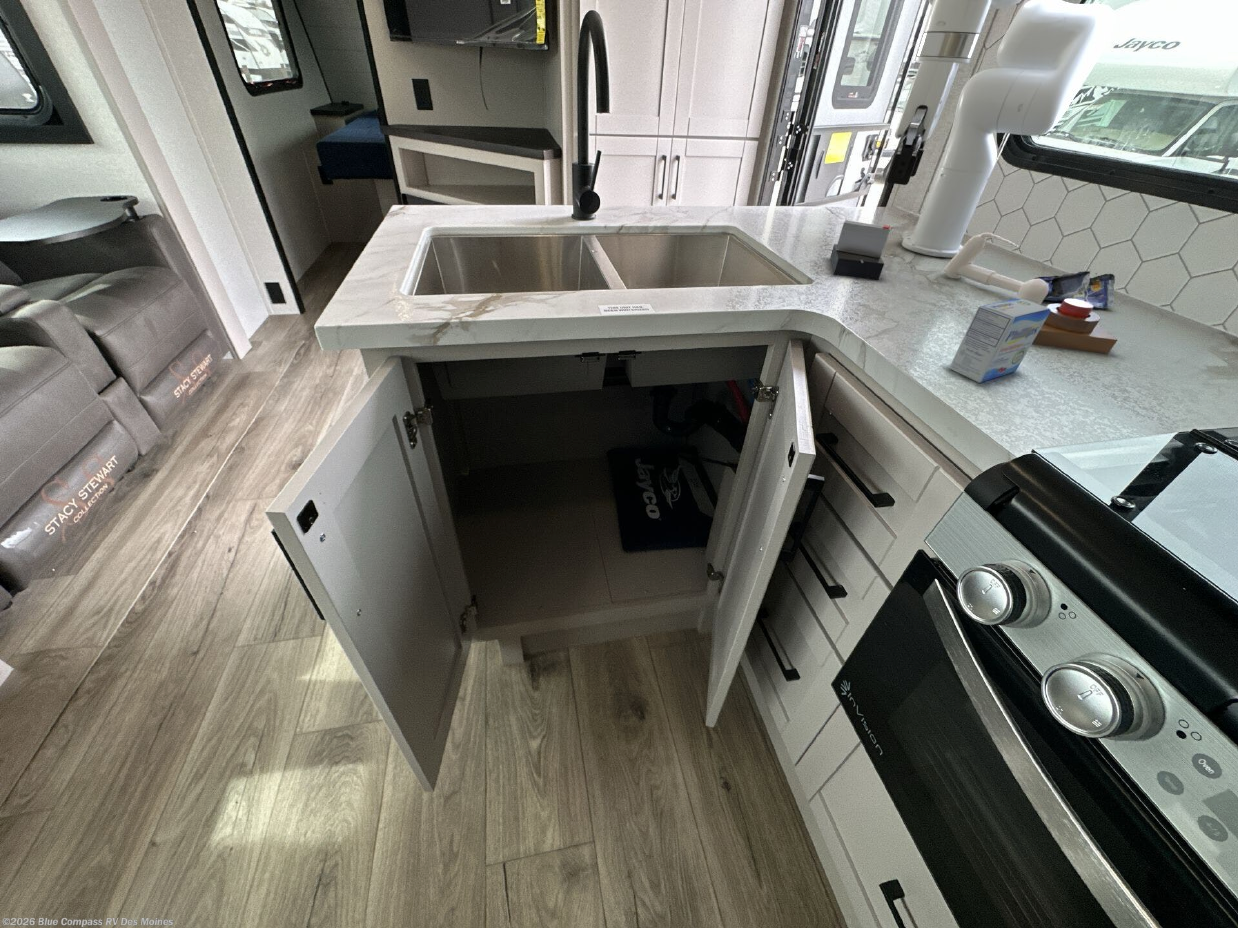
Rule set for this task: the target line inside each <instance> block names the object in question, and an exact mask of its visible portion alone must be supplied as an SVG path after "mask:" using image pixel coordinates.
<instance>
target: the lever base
mask: <svg viewBox="0 0 1238 928" xmlns="http://www.w3.org/2000/svg"><path fill="white" fill-rule="evenodd" d="M837 244H838V243H833V246H832V248H824V250H825V251H831V253H830V257H829V263H830V266H831V271H832V274H833V276H840V277H848V278H855V279H865V280H872V281H879V280H880V277H881V274H882V272H883V269H884V266H885V261H884V260H883V259H882V256H881V257H880V258H875V257H870V256H864V255H859V254H853V253H848V252H842V251H837V250H836V247H837ZM883 257H886V258H893V255H886V254H884V255H883Z"/></svg>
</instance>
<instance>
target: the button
mask: <svg viewBox="0 0 1238 928" xmlns="http://www.w3.org/2000/svg"><path fill="white" fill-rule="evenodd" d="M1060 304H1061V306H1060V307H1059V309H1058V311H1059V312H1061V313H1063V314H1066V315H1069V316H1073V317H1079V318H1087V317H1088V315H1089V314H1090V312H1093V311H1092V310H1093V309H1094V306H1093V305H1092V304H1090V303H1088V302H1085V301H1082V300H1078V299H1064V301H1062V302H1061V303H1060Z"/></svg>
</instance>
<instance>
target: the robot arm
mask: <svg viewBox="0 0 1238 928" xmlns="http://www.w3.org/2000/svg"><path fill="white" fill-rule="evenodd" d="M1021 1H1022V0H928V2H929V4H930V6H931V7H930V10H929V13H928V16H927V19H926V23H925V24H924V25H925V26H924V29H923V32H922V35H921V37H920V38H921V39H920V41H919V44H918V47H917V50H916V54H915V58H914V62H920V64H919V66H918V68H917V71H916V73H915V76H914V79H913V82H912V84H911V87H910V90H909V93H908V95H907V98H906V101H905V105H904V107H903V110H902V114H901V116H900V118H899V122H898V124H897V127H896V130H895V133H894V137H895V139H897V140H898V139H900V138H902V139H901V141H900V144H899V146H898V149H897V152H896V154H895V156H894V158H893V161H892V164H891V168H890V170H889V172H888V173H889V174H888V177H887V179H886V182H887V183H888V184H893V185H900V186H901V185H902V186H907V185H908V184H909V182H910V179H911V178H914V177H915V176H916V175H917V172H918V169H919V166H920V163H921V160H922V158H923V155H924V152H925V149H924V148H925V147H926V146H925V145H926V143H927V140H928V139H930V138H931V136H932V135H933V133H934V131H935V129H936V126H937V124H938V122H939V120H940V117H941V115H942V114H943V113H942V112H943V111H944V108H945V105H946V103H947V100H948V97H949V94H950V92H951V89H952V87H953V83H954V81H955V78H956V75H957V72H958V70H959V67H960V65H961V64H970V61H971V59H972V56H973V54H974V52H975V48H976V46H977V42H978V40H979V38H980V34H981V31H982V29H983V27H984V24H985V20H986V18H987V15H988V12H989V10H999V9H1000V10H1002V9H1007V8H1010V7H1013V6H1015V5H1017V4H1018V3H1020V2H1021ZM1081 2H1082V0H1024V1H1023V3H1022V4H1021V6H1020V8H1019V9H1018V11H1017V12H1016V14H1015V16H1014V18H1013V20H1012V22H1011V23H1010V25H1009V27H1008V28H1007V30H1006V32H1005V34H1004V35H1003V37H1002V40H1001V42H1000V43H999V46H998V49H997V52H996V58H995V59H996V63H997V65H998V67H992V68H987V69H983V70H981V71H978V72H977V73H975V74H973V75H972V76H971V77H969V79H968V80H967V81H966V83H965V84H964V85H963V87H962V90H961V92H960V94H959V97H958V101H957V105H956V109H955V113H954V118H953V122H952V127H951V130H950V133H949V136H948V140H947V143H946V146H945V148H944V151H943V155H942V157H941V160H940V162H939V165H938V168H937V170H936V173H935V175H934V178H933V181H932V183H931V186H930V188H929V191H928V193H927V197H926V200H925V202H924V205H923V207H922V210H921V212H920V215H919V218H918V220H917V223H916V226H915V228H914V231H913V233H912V236H906V237H904V238H903V239H902V241H901V245H902V247H903V248H904V249H906V250H909V251H911V252H914V253H917V254H921V255H926V256H931V257H937V258H951V259H952V258H953V257H954V256H955V255H956V254H957V253H958V252H959V251H960V250H961V249H962V247H963V246H964V245H962V244H961V243H962V240H963V238H964V237H965V233H966V231H967V229H968V226H969V225H970V223H971V220H972V218H973V216H974V213H975V211H976V209H977V207H978V204H979V202H980V200H981V197H982V195H983V192H984V190H985V188H986V186H987V184H988V181H989V179H990V177H991V175H992V172H993V170H994V169H995V166H996V163H997V157H998V150H997V146H996V141H995V137H994V134H995V133H996V134H1000V133H1002V134H1009V135H1019V136H1029V137H1030V136H1032V137H1033V136H1034V137H1036V136H1043V135H1045V134H1047V133H1048V132H1050V131H1051V130H1053V129H1054V127H1055V126H1056V125H1057V124H1058V123H1059V122H1060V120H1061V119H1062V118H1063V116H1064V114H1065V113H1066V111H1067V110H1068V108H1069V106H1070V105H1071V103H1072V101H1074V98H1075V97H1076V95H1077V93H1079V90H1080V89H1081V87H1082V85H1083V84H1084V82H1085V81H1086V79H1087V77H1089V74H1090V73H1091V71H1092V69H1093V68H1094V67H1095V65H1096V63H1097V61H1098V60H1099V58H1100V57H1101V55H1102V53H1103V51H1104V49H1105V47H1106V46H1107V43H1108V41H1109V40H1110V37H1111V34H1112V31H1113V29H1114V24H1115V12H1114V10H1113V9H1112V8H1111V7H1110V6H1109V5H1106V4H1100V3H1081Z"/></svg>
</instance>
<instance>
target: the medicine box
mask: <svg viewBox="0 0 1238 928" xmlns="http://www.w3.org/2000/svg"><path fill="white" fill-rule="evenodd" d="M1050 312H1051V310H1050V309H1049V308H1047V306H1044V305H1042V304H1041V305H1039V304H1037V303H1034V302H1031V301H1027V300H1024V299H1019V298H1013V299H1007V300H1003V301H999V302H993V303H988V304H984V305H979V306H977V309H976V311H975V313H974V315H973V318H972V320H971V322H970V323H969V326H968V327H967V330H966V331H965V334H964V336H963V338H962V340H961V342H960V344H959V346H958V349H957V351H956V353H955V354H954V357H953V358H952V361H951V363H950V365H949V367H948V368H949V369H950V370H952V371H953V372H955V373H957V374H959V375H961V376H963V377H965V378H968V379H970V380H972V381H973V382H976V383H978V384H981V383H984V382H989V381H991V380H993V379H997V378H1000V377H1003V376H1005V375H1006V376H1007V375H1009V374H1013V373H1016V372H1017V370H1018V369H1019V367H1020V365H1021V363H1022V362H1023V360H1024V358H1025V356H1026V355H1027V353H1028V351H1029V349H1030V348H1031V346H1032V345H1033V344H1032V343H1033V341H1034V339H1035V337H1036V336H1037V334H1038V332H1039V331H1040V329H1041V327H1042V325H1043V324H1044V322H1045V320H1046V319H1047V317H1048V315H1049V313H1050Z"/></svg>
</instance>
